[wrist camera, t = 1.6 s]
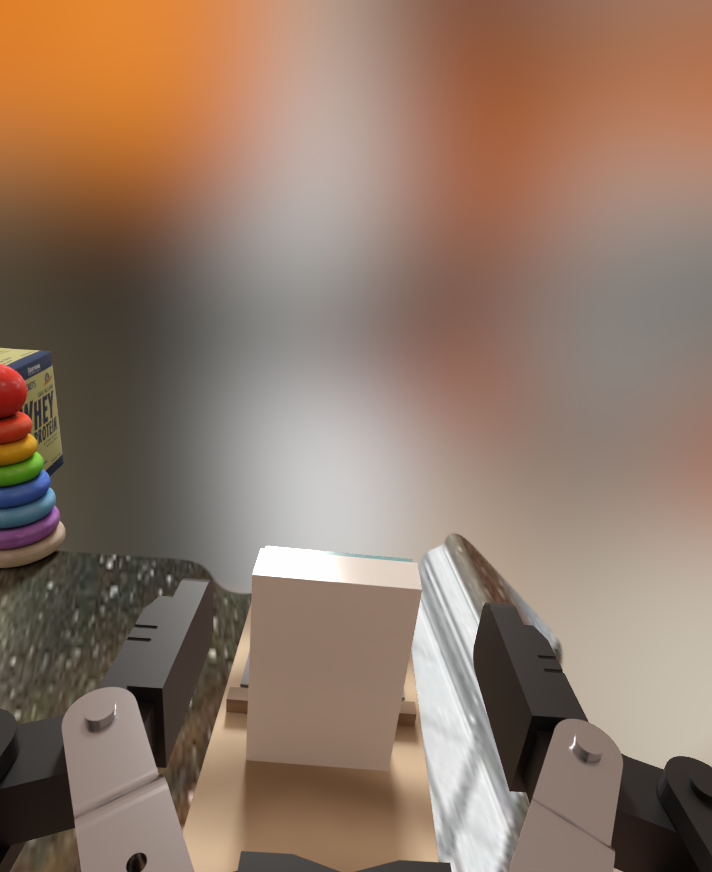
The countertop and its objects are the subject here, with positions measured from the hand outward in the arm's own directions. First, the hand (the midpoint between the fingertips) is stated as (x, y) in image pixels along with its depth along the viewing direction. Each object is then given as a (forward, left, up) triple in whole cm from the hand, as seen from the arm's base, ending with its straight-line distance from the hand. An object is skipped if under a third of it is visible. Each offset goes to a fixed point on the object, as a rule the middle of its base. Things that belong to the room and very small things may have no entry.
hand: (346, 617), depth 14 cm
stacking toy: (-43, +12, -22) cm, 50 cm away
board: (-8, +14, -22) cm, 27 cm away
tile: (-6, +11, -21) cm, 24 cm away
